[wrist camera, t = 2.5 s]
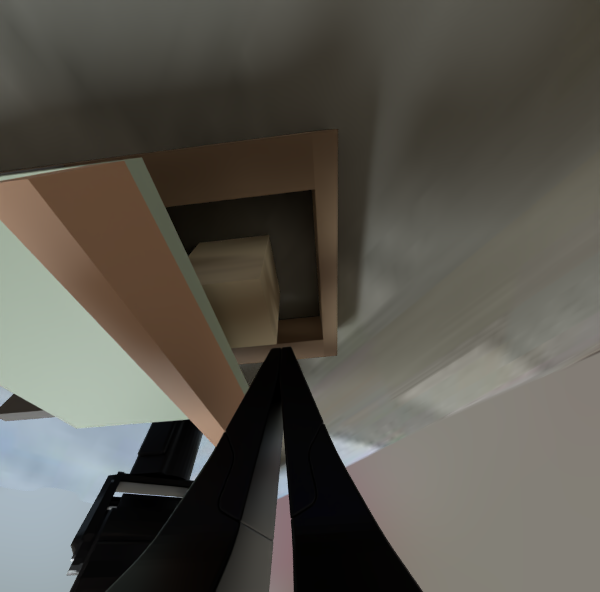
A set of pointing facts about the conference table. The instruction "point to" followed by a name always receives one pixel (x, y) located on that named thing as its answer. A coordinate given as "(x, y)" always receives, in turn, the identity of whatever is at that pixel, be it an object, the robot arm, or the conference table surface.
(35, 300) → the sliding cover
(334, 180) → the wooden box
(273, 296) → the beech block
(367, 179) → the conference table surface
